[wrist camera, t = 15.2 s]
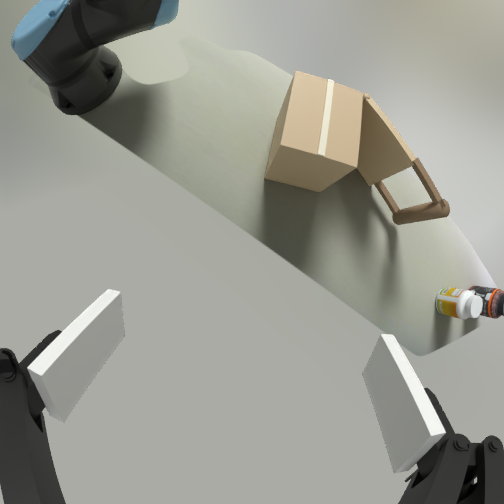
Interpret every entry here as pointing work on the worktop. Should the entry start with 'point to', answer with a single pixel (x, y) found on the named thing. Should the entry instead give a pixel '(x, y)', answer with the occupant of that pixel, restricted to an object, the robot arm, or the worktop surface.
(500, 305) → the supplement bottle
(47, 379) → the robot arm
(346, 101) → the carton
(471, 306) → the supplement bottle
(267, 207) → the worktop surface
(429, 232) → the worktop surface
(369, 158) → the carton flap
